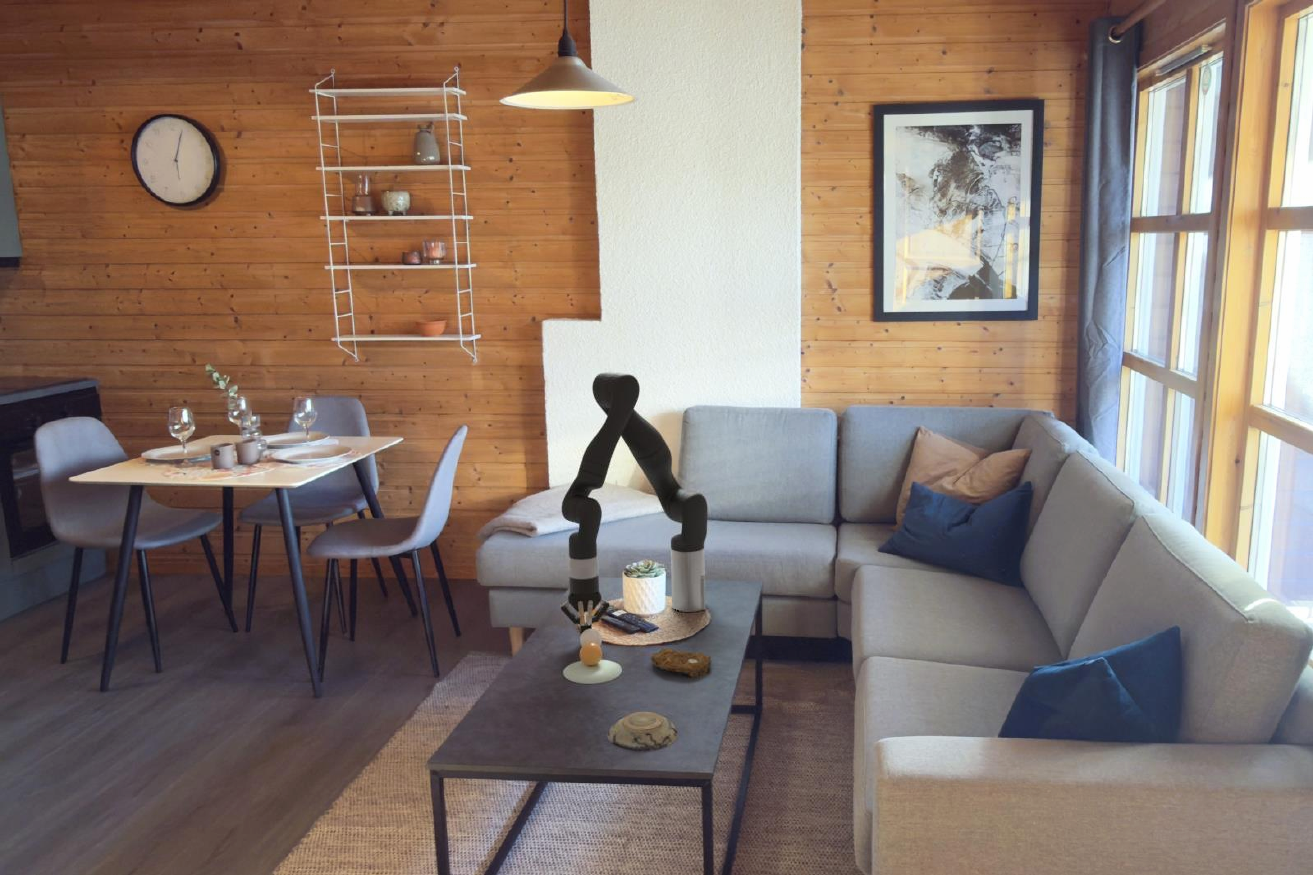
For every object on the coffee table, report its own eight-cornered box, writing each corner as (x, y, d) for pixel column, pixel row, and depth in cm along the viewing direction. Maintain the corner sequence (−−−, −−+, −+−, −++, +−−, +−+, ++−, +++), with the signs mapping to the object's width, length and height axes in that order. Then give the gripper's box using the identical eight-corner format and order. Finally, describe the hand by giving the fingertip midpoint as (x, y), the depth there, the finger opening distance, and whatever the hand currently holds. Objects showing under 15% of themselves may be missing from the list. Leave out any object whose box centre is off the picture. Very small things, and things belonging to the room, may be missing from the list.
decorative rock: (642, 677, 249) (704, 685, 245) (642, 661, 248) (704, 669, 244) (656, 656, 260) (715, 664, 256) (655, 641, 259) (715, 648, 255)
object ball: (602, 641, 258) (605, 646, 253) (599, 664, 258) (601, 669, 253) (580, 639, 257) (582, 644, 252) (577, 661, 257) (579, 666, 252)
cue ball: (605, 627, 264) (605, 649, 262) (597, 632, 269) (596, 653, 266) (585, 625, 262) (584, 647, 260) (577, 629, 266) (576, 651, 264)
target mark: (623, 659, 258) (623, 658, 258) (620, 683, 244) (620, 682, 244) (566, 660, 258) (566, 659, 258) (560, 684, 245) (560, 683, 245)
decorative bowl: (600, 726, 225) (616, 758, 210) (599, 710, 224) (615, 740, 210) (667, 717, 229) (687, 747, 214) (667, 701, 228) (687, 730, 214)
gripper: (608, 566, 270) (610, 630, 273) (556, 570, 268) (559, 634, 271) (611, 575, 263) (613, 641, 266) (558, 579, 261) (561, 645, 264)
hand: (586, 637), depth 269 cm, fingers closed
